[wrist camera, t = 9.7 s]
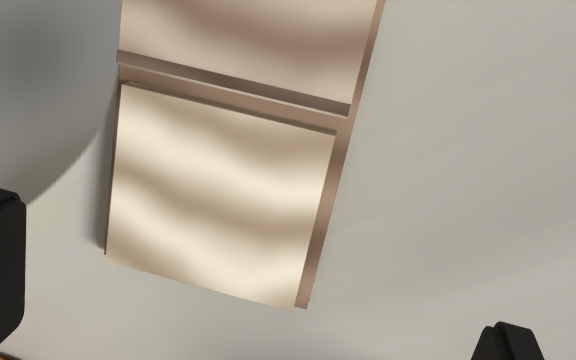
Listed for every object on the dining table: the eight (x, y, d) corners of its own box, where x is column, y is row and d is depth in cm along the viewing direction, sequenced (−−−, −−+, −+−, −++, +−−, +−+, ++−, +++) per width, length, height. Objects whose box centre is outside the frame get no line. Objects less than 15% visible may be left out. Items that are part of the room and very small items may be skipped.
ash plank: (131, 81, 38) (121, 84, 37) (336, 130, 37) (335, 136, 36) (114, 252, 43) (105, 260, 42) (295, 301, 42) (292, 311, 40)
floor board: (139, -95, 35) (121, -100, 33) (395, -40, 34) (396, -42, 31) (109, 248, 45) (93, 264, 42) (308, 302, 43) (303, 321, 41)
